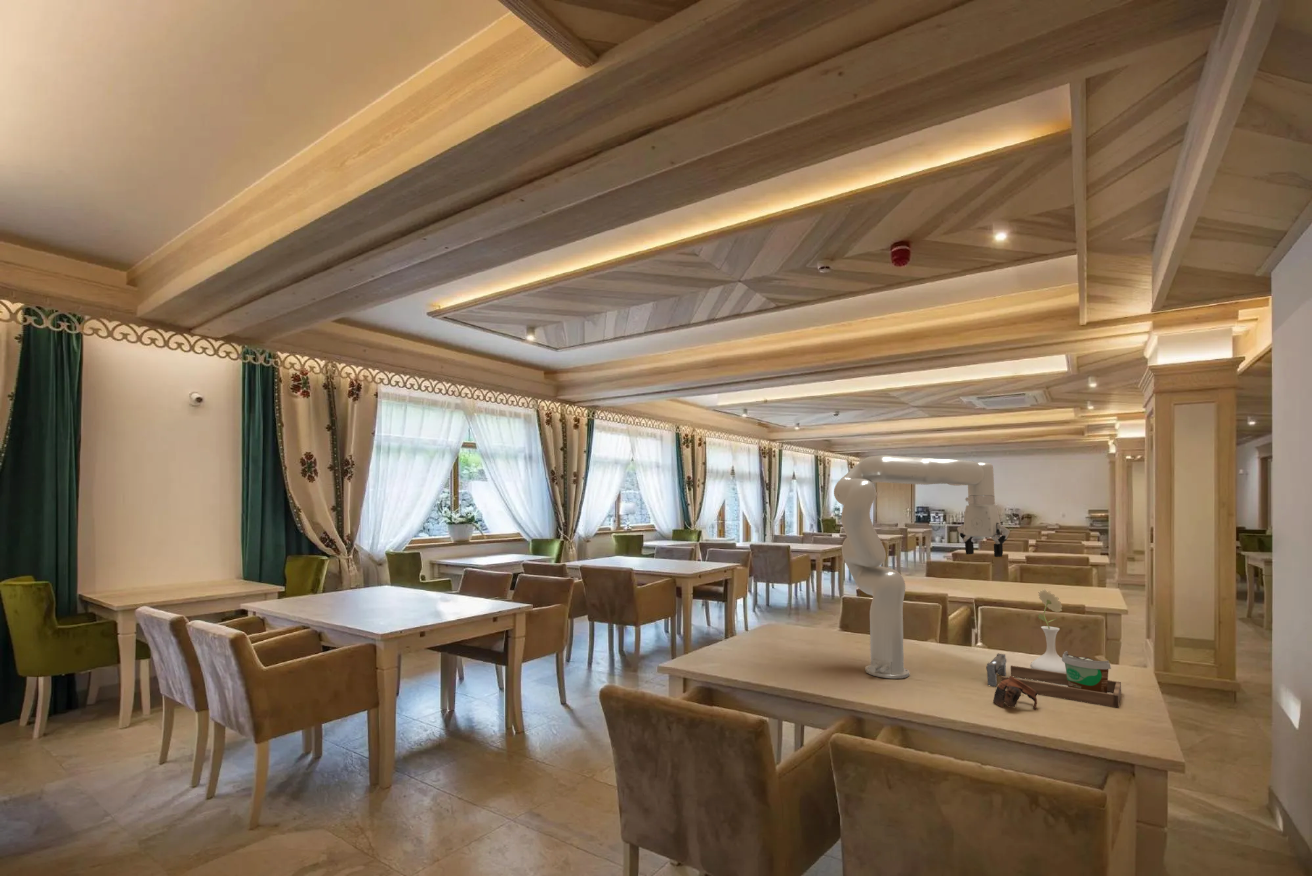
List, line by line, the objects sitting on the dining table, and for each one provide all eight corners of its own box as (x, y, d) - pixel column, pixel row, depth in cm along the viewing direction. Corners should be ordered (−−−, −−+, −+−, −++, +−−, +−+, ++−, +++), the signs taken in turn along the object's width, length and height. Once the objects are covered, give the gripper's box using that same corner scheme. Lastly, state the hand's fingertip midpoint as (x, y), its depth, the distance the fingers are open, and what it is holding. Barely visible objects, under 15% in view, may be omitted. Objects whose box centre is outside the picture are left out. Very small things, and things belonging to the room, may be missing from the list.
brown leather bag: (991, 699, 175) (1006, 673, 175) (1027, 722, 170) (1043, 695, 170) (987, 699, 166) (1003, 671, 166) (1025, 723, 160) (1042, 694, 160)
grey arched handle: (997, 687, 185) (996, 665, 185) (985, 685, 186) (985, 663, 187) (1009, 673, 199) (1008, 653, 200) (998, 671, 201) (997, 651, 202)
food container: (1052, 689, 183) (1051, 652, 184) (1066, 686, 186) (1065, 650, 187) (1098, 702, 172) (1096, 663, 173) (1112, 699, 175) (1110, 661, 176)
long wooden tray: (1118, 707, 168) (1117, 695, 168) (1001, 687, 184) (1000, 676, 184) (1121, 693, 180) (1120, 682, 180) (1011, 675, 197) (1011, 665, 197)
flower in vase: (1080, 680, 192) (1077, 594, 194) (1038, 677, 195) (1035, 592, 197) (1062, 668, 205) (1059, 588, 207) (1023, 666, 207) (1020, 586, 209)
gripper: (949, 501, 214) (951, 553, 212) (1000, 501, 199) (1002, 558, 197) (964, 500, 217) (966, 552, 216) (1014, 501, 203) (1017, 557, 201)
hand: (983, 555), depth 207 cm, fingers open, 9 cm apart
